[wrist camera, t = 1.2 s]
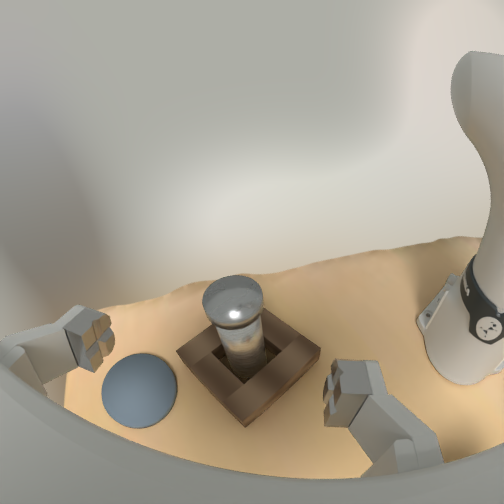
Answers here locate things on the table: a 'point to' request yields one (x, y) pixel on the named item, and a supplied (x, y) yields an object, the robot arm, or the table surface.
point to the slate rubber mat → (139, 391)
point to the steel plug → (238, 322)
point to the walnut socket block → (260, 385)
